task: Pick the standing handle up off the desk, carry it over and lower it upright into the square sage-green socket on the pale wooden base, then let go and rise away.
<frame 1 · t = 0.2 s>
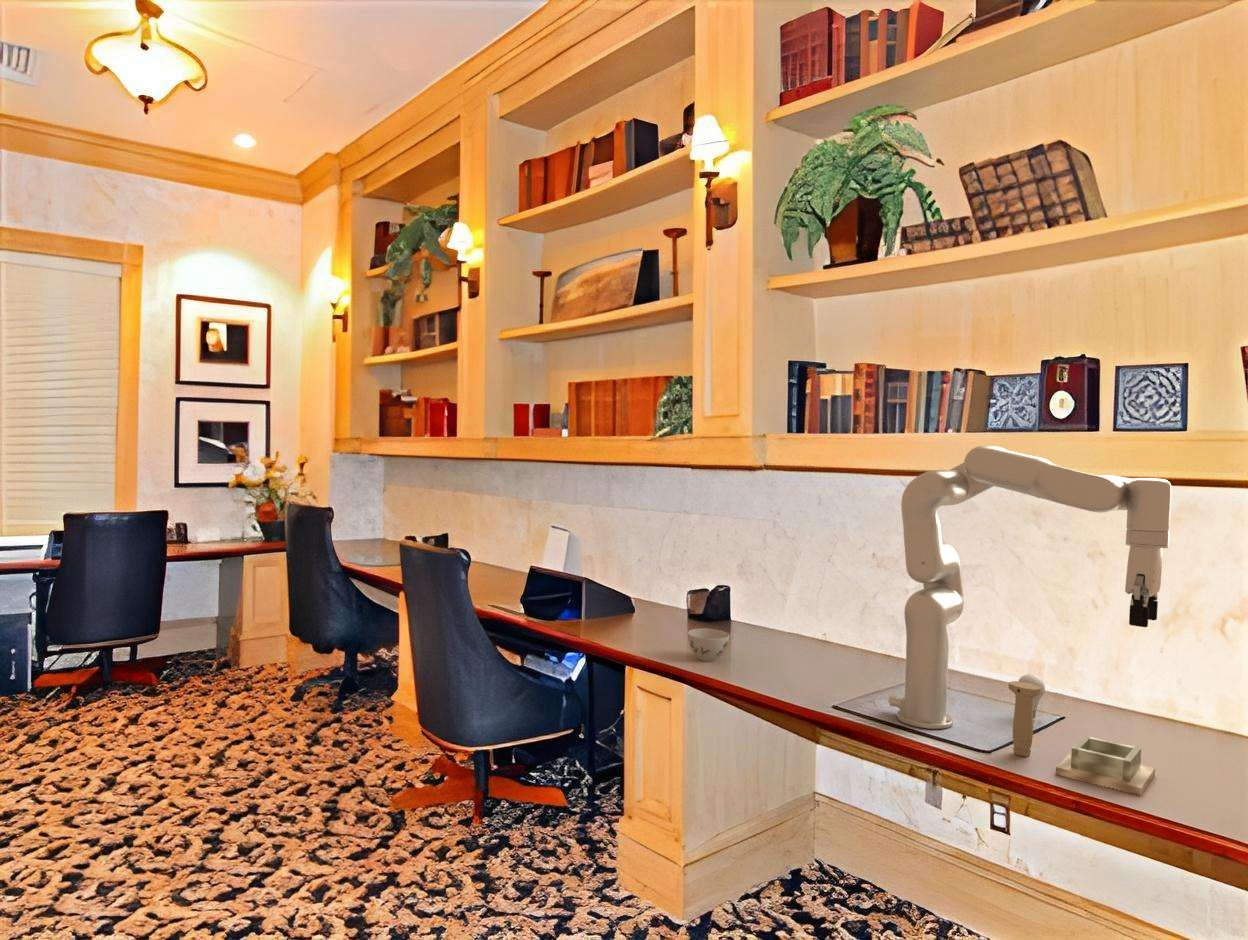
hand: (1143, 622, 176), 31 cm above the table, tool pointing down, fingers open, 9 cm apart
handle: (1021, 755, 185), on the table
lightbulb: (1029, 720, 210), on the table
socket block: (1105, 774, 175), on the table
teacup: (710, 659, 260), on the table
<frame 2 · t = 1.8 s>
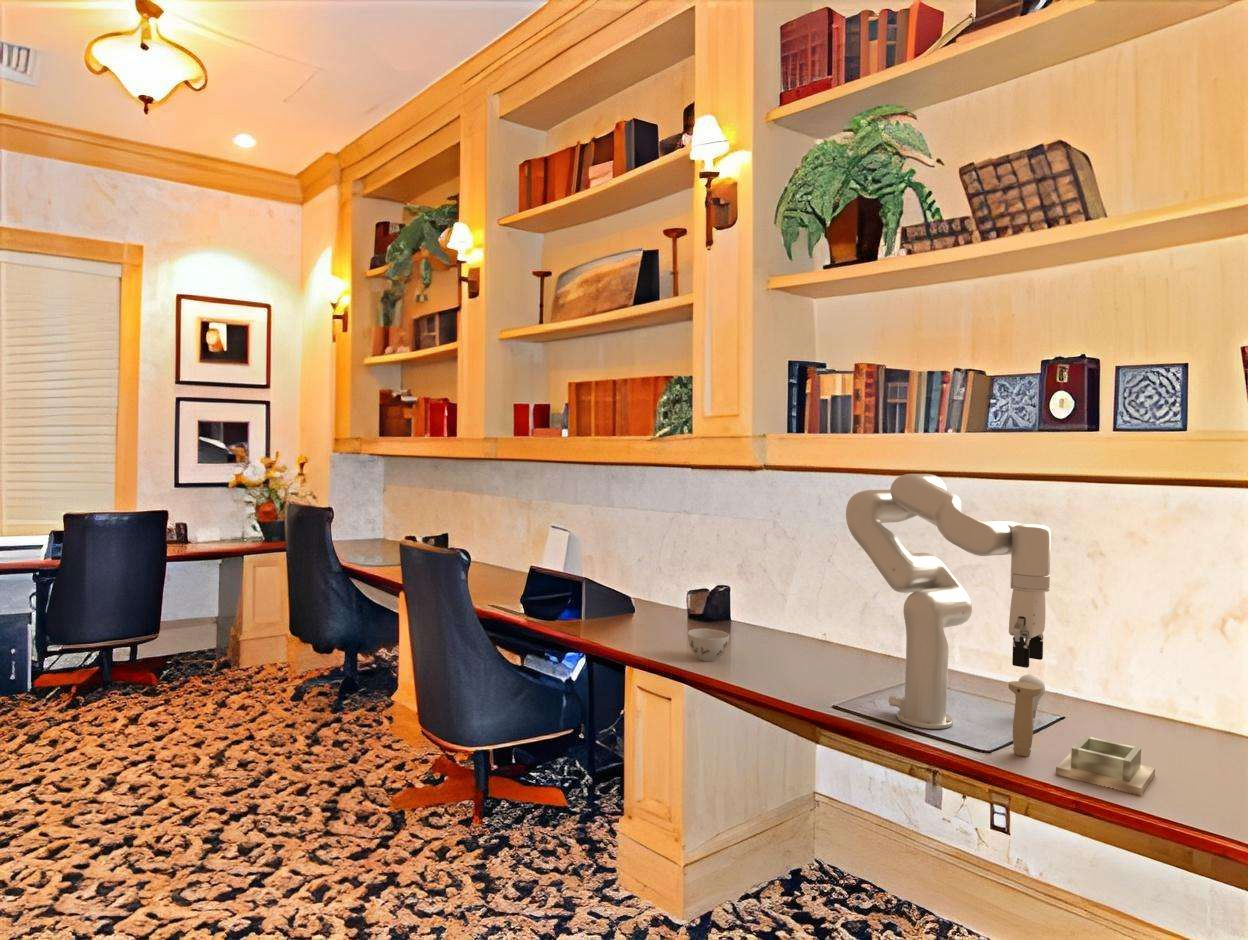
hand: (1027, 662, 184), 20 cm above the table, tool pointing down, fingers open, 9 cm apart
nothing on the table moved.
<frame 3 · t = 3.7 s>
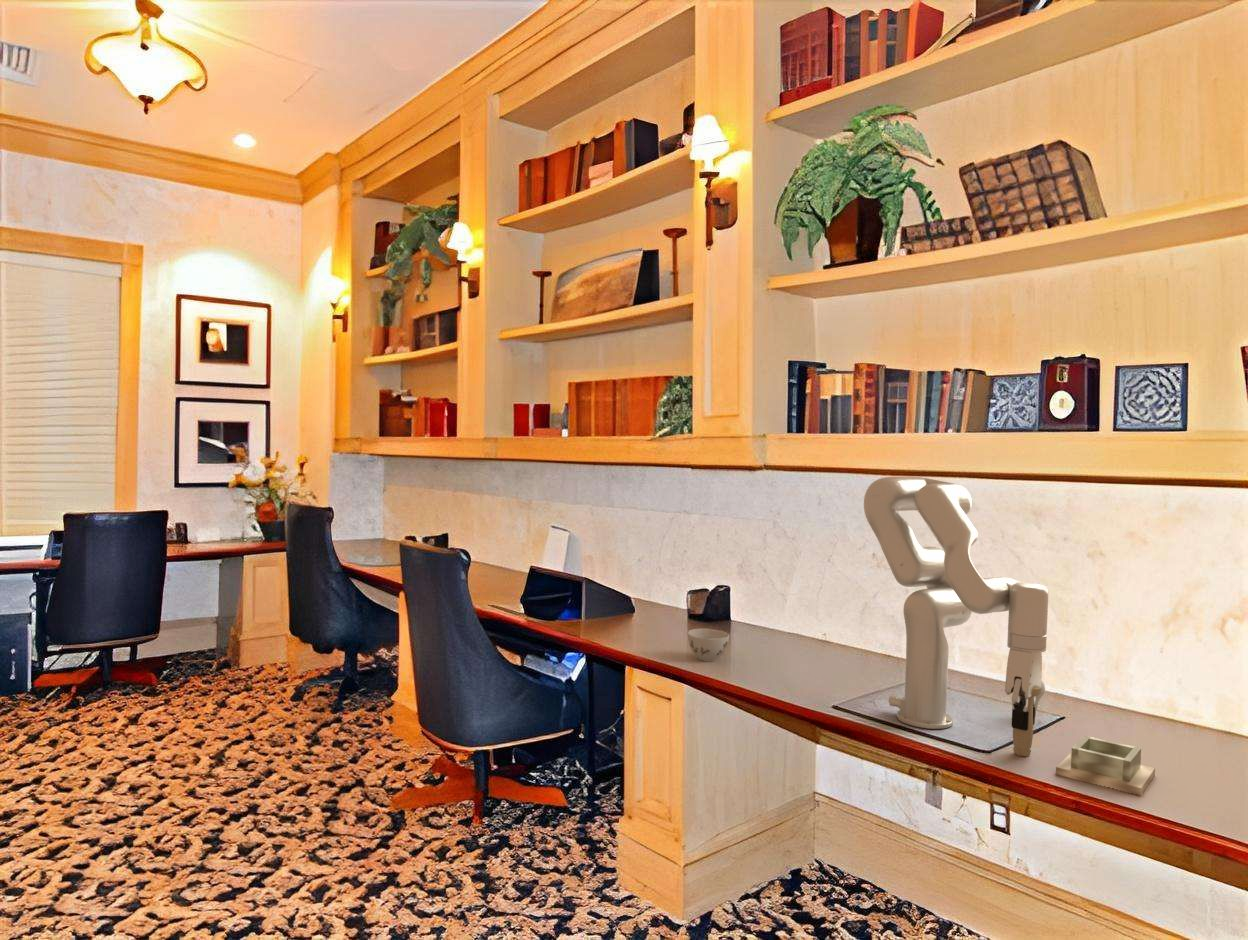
hand: (1023, 725, 185), 6 cm above the table, tool pointing down, fingers closed on handle, 3 cm apart
handle: (1021, 755, 185), on the table, touching gripper
everything else where it was.
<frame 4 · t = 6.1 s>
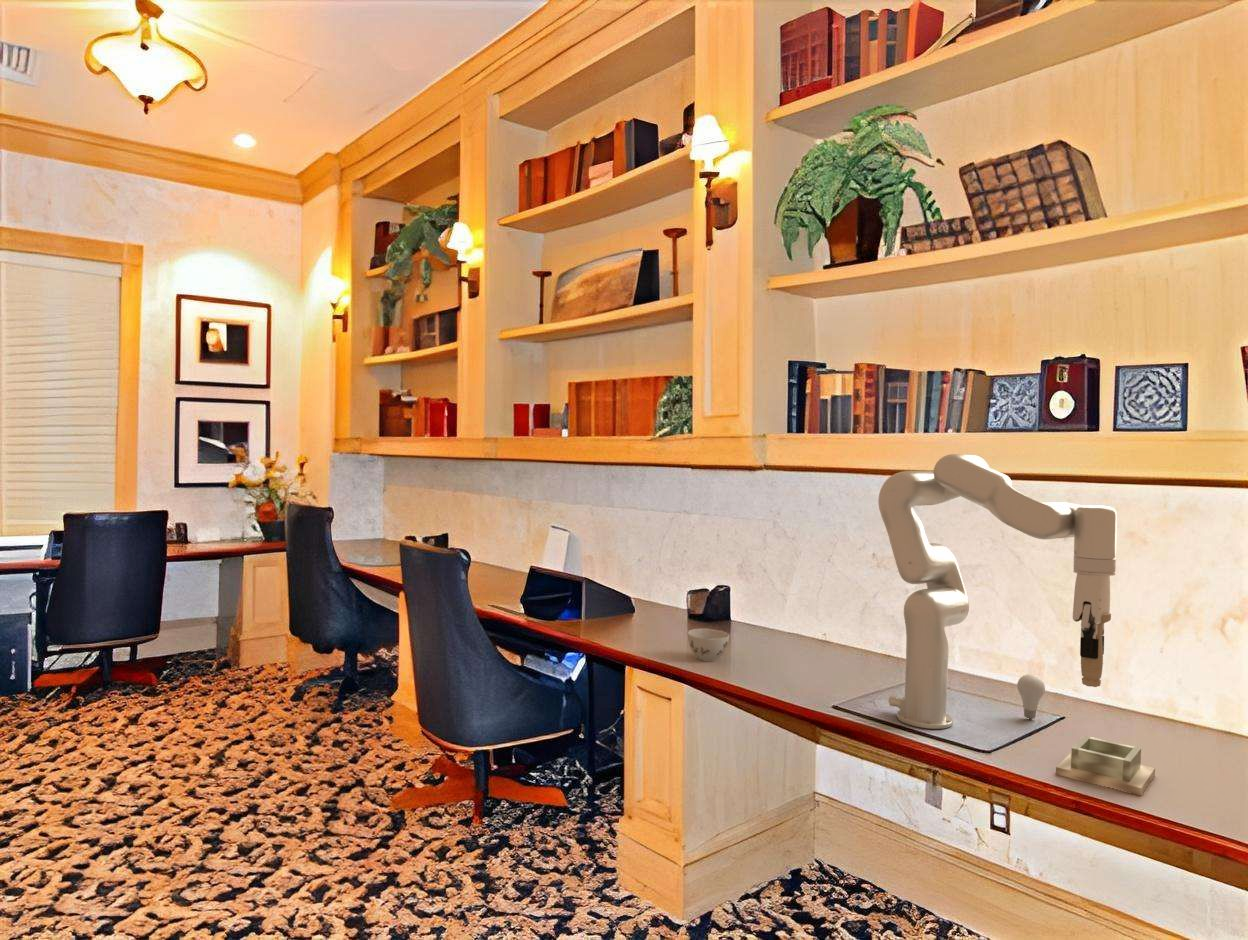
hand: (1091, 654, 176), 24 cm above the table, tool pointing down, fingers closed on handle, 3 cm apart
handle: (1091, 686, 176), point 17 cm above the table, touching gripper
everything else where it was.
when the fingers open (9 cm above the table, at t = 8.7 s): handle stays where it is, resting on socket block.
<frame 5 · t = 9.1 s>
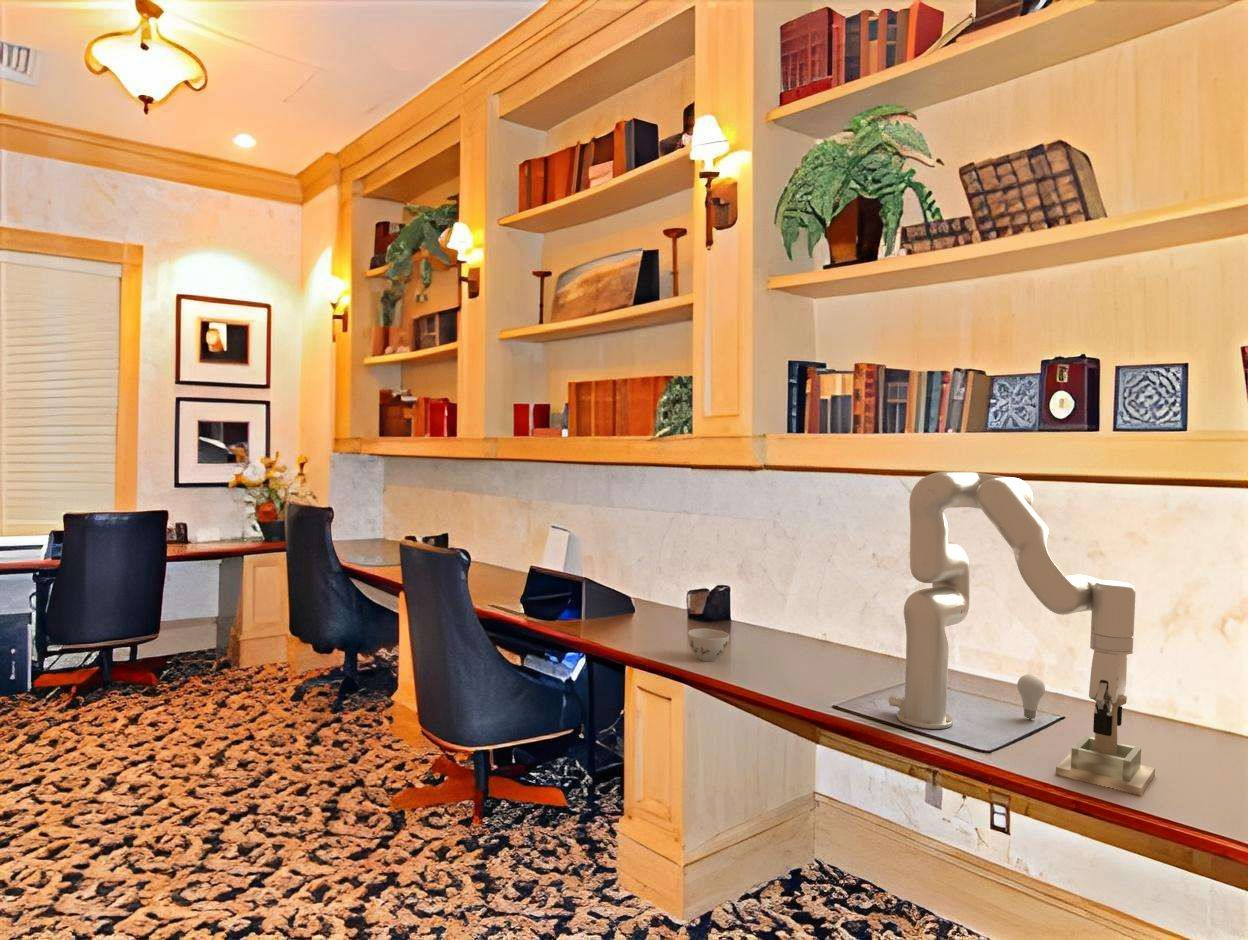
hand: (1107, 728, 174), 9 cm above the table, tool pointing down, fingers open, 8 cm apart
handle: (1104, 768, 175), point 1 cm above the table, touching socket block
everything else where it was.
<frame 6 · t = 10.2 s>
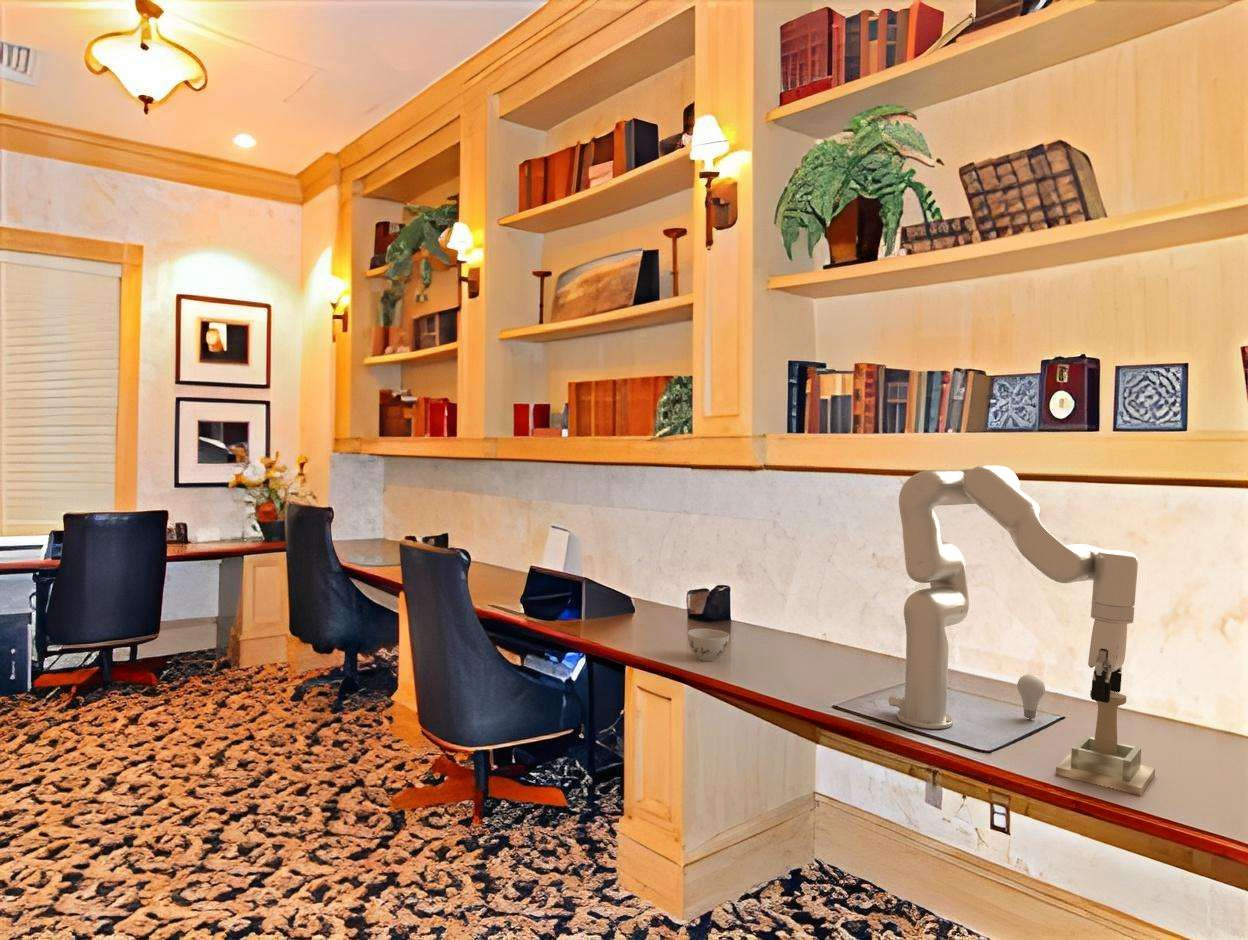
hand: (1105, 695, 175), 16 cm above the table, tool pointing down, fingers open, 9 cm apart
nothing on the table moved.
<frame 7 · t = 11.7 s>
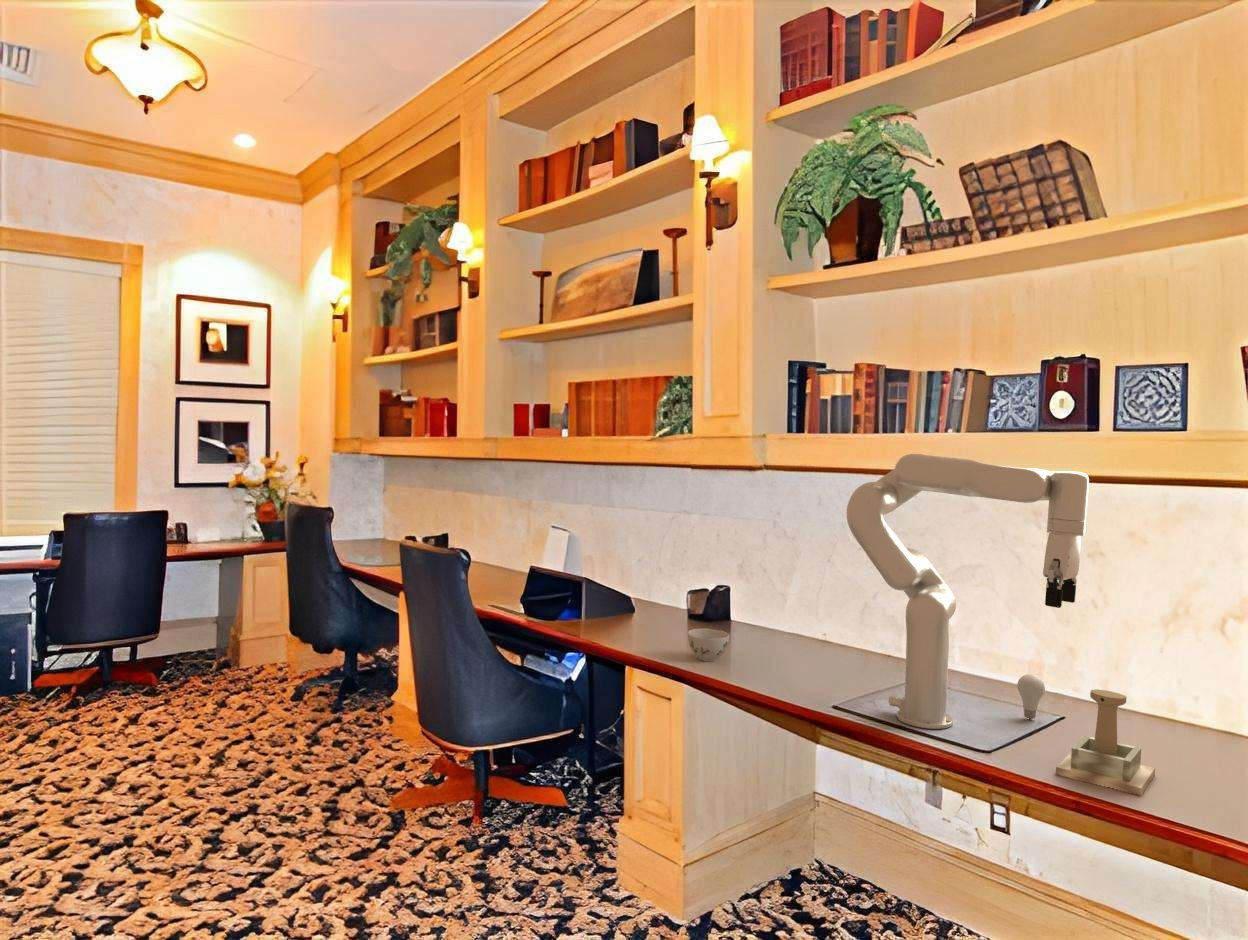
hand: (1060, 604, 191), 31 cm above the table, tool pointing down, fingers open, 9 cm apart
nothing on the table moved.
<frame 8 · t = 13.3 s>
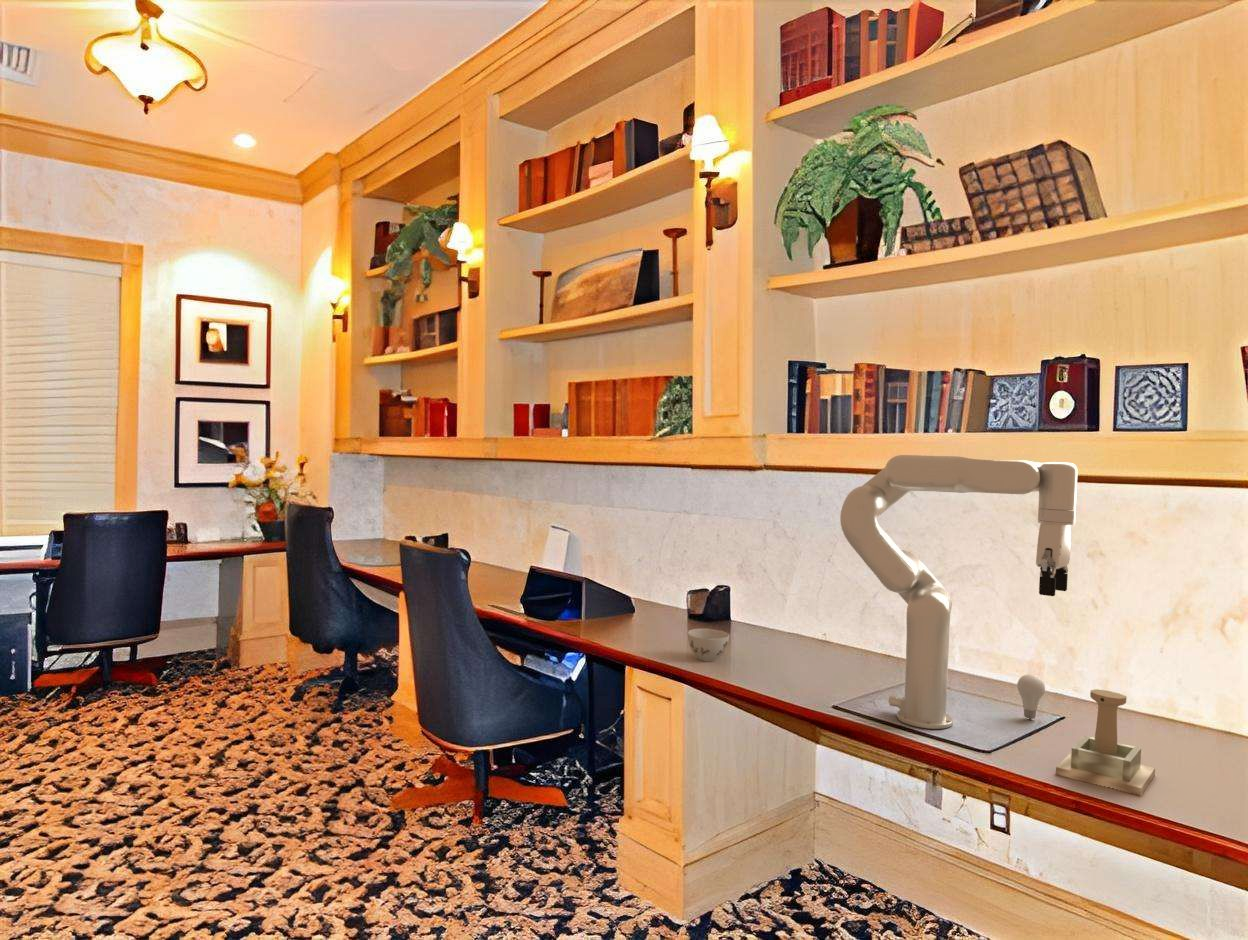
hand: (1053, 592, 195), 33 cm above the table, tool pointing down, fingers open, 9 cm apart
nothing on the table moved.
at the end: handle 0.2 cm off-centre on the socket block, point 1.3 cm above the socket block's base; handle tilted 0°; the gripper is holding nothing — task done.
